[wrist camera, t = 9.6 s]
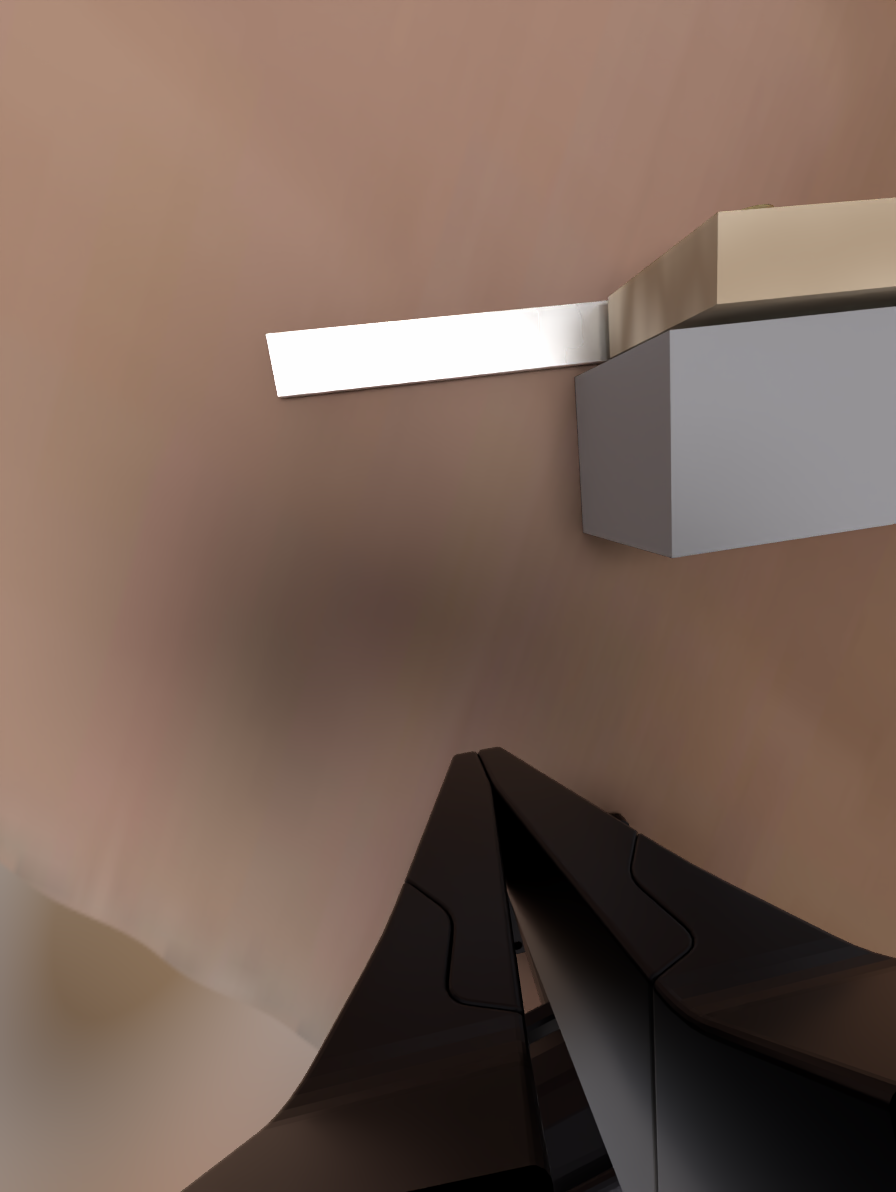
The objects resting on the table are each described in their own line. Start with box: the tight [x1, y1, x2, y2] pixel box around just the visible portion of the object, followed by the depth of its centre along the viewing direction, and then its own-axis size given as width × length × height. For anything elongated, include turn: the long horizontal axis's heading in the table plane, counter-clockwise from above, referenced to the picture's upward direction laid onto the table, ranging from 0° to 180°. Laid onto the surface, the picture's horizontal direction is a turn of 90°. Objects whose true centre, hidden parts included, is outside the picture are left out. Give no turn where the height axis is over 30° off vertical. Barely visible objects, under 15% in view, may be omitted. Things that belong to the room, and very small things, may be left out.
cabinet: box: [575, 306, 896, 558], centre depth 18 cm, size 6×20×6 cm, turn 97°
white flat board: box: [266, 301, 613, 398], centre depth 16 cm, size 2×32×7 cm, turn 97°
